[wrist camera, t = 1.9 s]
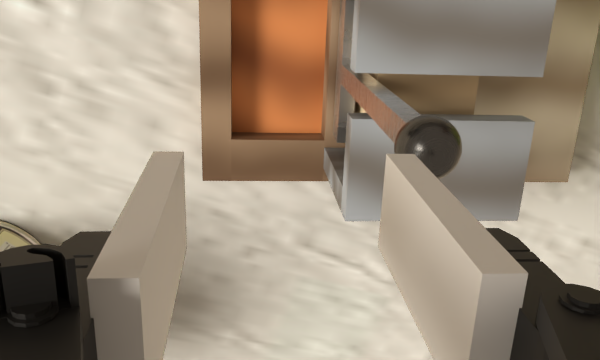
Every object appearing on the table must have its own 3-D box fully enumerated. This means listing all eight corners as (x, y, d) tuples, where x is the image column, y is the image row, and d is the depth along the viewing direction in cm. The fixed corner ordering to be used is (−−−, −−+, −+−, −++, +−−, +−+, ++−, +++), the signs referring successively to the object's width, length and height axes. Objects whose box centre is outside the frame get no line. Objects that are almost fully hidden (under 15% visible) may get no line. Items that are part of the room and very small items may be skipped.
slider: (329, -2, 37) (417, 20, 18) (476, 3, 38) (704, 29, 19) (322, 134, 40) (392, 275, 21) (458, 136, 41) (640, 272, 22)
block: (361, 23, 38) (381, 31, 32) (449, 26, 38) (484, 34, 33) (354, 113, 40) (373, 135, 34) (439, 114, 40) (470, 136, 35)
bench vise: (200, -64, 37) (181, -82, 26) (592, -47, 40) (728, -56, 29) (205, 169, 43) (190, 238, 31) (551, 171, 45) (652, 235, 34)
